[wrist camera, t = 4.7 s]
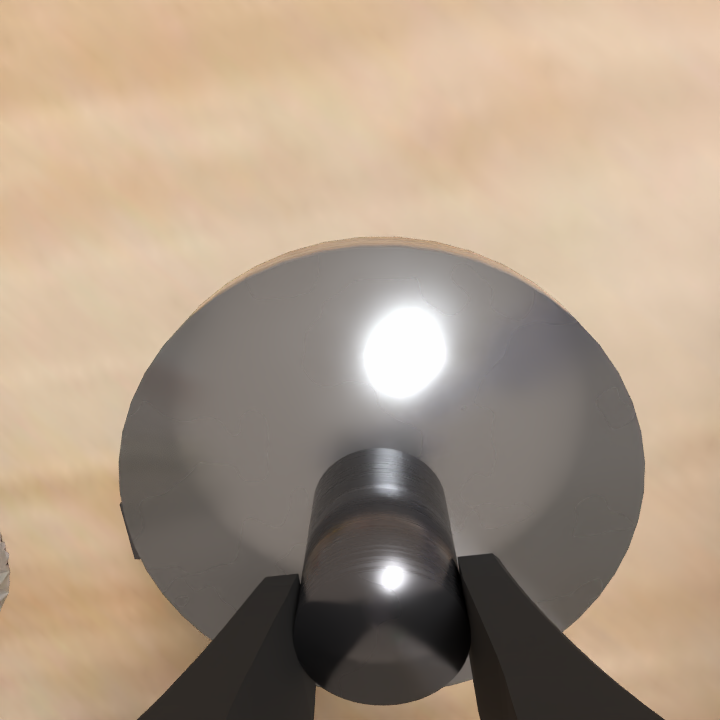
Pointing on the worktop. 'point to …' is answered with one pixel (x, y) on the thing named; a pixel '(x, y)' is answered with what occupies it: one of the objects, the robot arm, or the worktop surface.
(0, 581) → the ceramic cottage
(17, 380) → the worktop surface
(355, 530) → the lid
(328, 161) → the worktop surface
